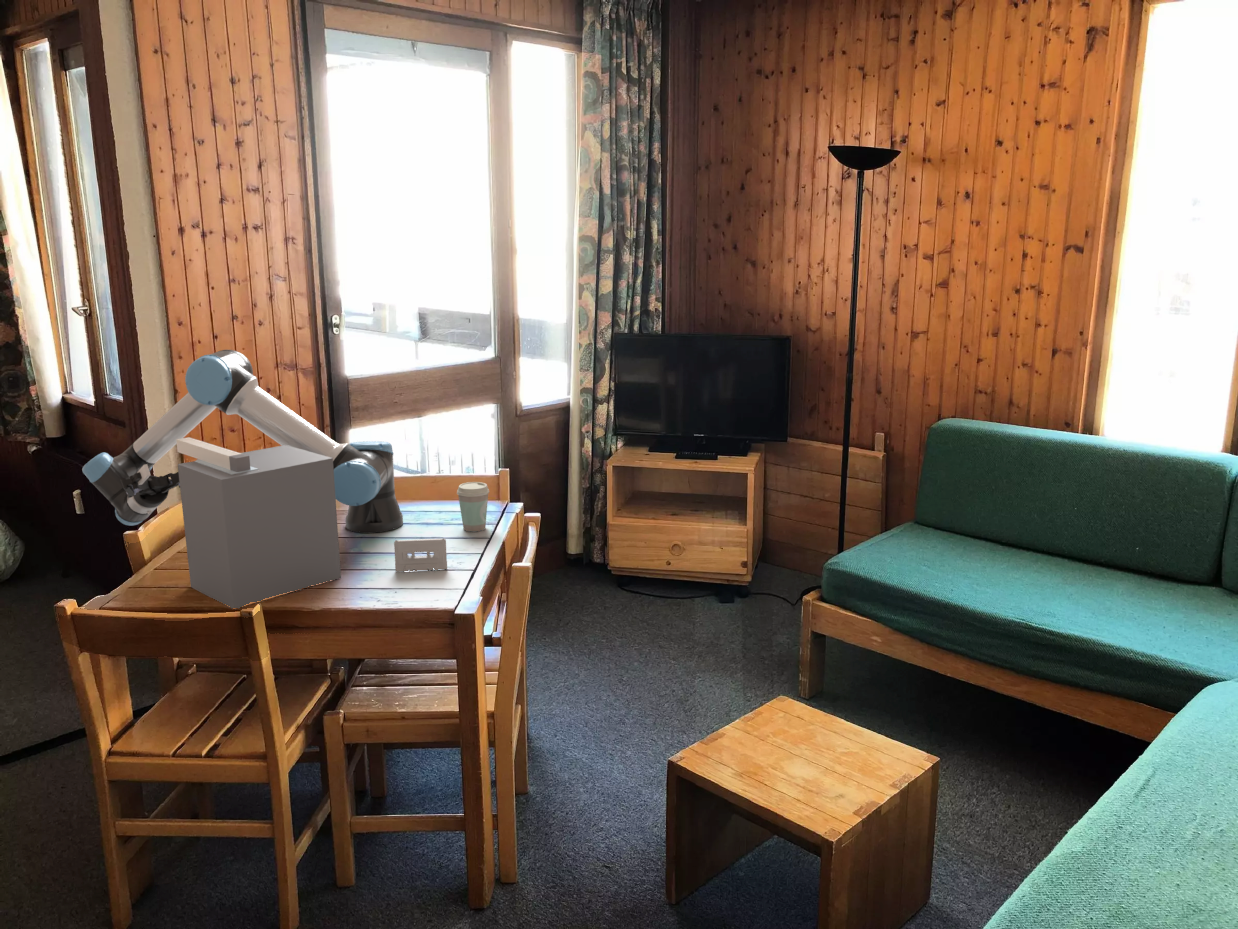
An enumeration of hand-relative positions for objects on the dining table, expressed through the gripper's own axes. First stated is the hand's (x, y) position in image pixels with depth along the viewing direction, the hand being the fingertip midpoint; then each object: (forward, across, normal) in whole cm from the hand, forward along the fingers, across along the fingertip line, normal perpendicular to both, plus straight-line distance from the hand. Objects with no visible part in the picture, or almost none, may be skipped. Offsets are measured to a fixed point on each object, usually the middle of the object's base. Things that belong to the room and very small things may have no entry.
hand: (176, 464), depth 234 cm
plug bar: (+18, 0, -6) cm, 19 cm away
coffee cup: (+12, -65, -36) cm, 75 cm away
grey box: (+10, -6, -34) cm, 36 cm away
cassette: (+26, -35, -44) cm, 62 cm away
